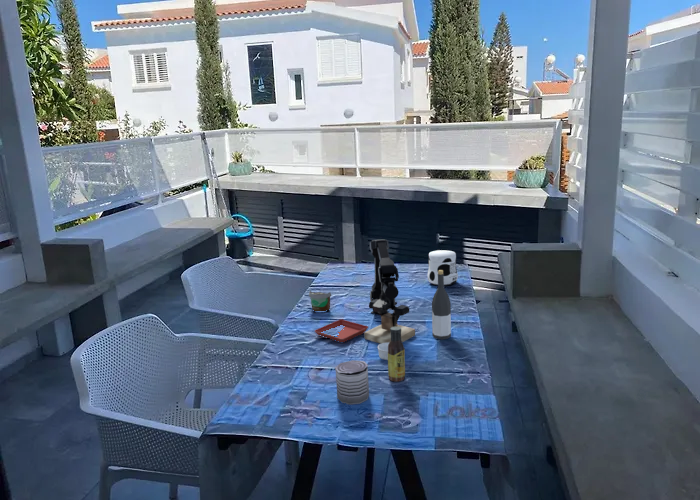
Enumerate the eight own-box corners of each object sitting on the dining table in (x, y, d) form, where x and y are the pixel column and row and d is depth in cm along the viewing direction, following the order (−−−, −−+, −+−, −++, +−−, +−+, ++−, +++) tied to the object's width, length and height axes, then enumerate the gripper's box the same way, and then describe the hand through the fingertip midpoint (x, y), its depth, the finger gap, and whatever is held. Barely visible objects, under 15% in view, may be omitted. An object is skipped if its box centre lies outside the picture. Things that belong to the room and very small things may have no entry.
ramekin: (387, 350, 231) (387, 340, 230) (404, 355, 225) (403, 345, 224) (373, 357, 225) (372, 347, 224) (389, 362, 219) (389, 352, 218)
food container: (305, 312, 282) (304, 293, 279) (310, 308, 287) (309, 290, 285) (327, 314, 277) (326, 295, 275) (332, 310, 283) (331, 291, 280)
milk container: (427, 279, 328) (426, 250, 324) (457, 279, 325) (456, 249, 321) (427, 288, 311) (426, 257, 307) (458, 287, 309) (458, 256, 305)
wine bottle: (450, 339, 237) (449, 273, 231) (431, 339, 239) (430, 273, 232) (451, 332, 245) (450, 268, 238) (432, 332, 247) (431, 268, 240)
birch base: (364, 338, 244) (364, 332, 243) (387, 327, 255) (386, 321, 254) (393, 347, 233) (392, 340, 232) (415, 335, 244) (415, 329, 244)
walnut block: (381, 328, 243) (381, 315, 242) (388, 325, 247) (388, 312, 245) (390, 331, 240) (390, 318, 238) (397, 327, 243) (397, 314, 242)
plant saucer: (313, 337, 250) (313, 330, 249) (341, 325, 263) (340, 318, 262) (342, 346, 238) (342, 339, 237) (369, 333, 251) (369, 326, 250)
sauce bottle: (400, 384, 200) (398, 333, 196) (385, 380, 204) (383, 330, 199) (408, 376, 206) (406, 326, 201) (393, 373, 209) (391, 324, 205)
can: (344, 407, 186) (342, 375, 183) (332, 393, 196) (330, 362, 193) (374, 399, 190) (373, 367, 187) (361, 386, 200) (359, 355, 198)
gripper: (359, 293, 240) (361, 326, 243) (393, 300, 227) (395, 335, 231) (376, 286, 248) (377, 319, 251) (409, 293, 235) (410, 327, 239)
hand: (389, 325), depth 243 cm, fingers closed on walnut block, 5 cm apart
